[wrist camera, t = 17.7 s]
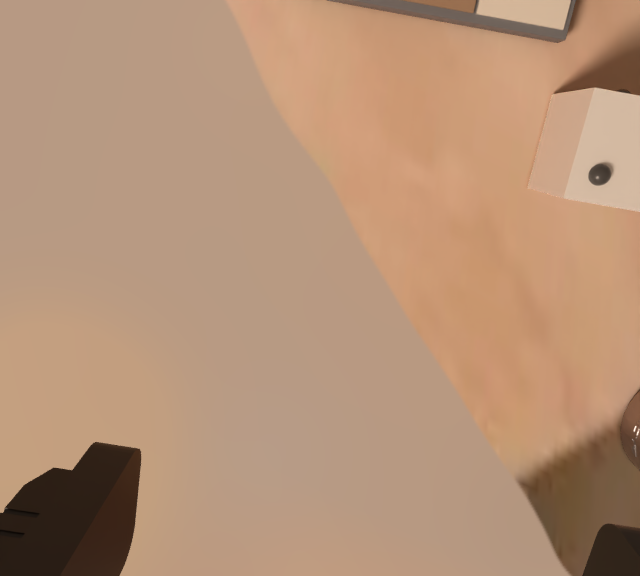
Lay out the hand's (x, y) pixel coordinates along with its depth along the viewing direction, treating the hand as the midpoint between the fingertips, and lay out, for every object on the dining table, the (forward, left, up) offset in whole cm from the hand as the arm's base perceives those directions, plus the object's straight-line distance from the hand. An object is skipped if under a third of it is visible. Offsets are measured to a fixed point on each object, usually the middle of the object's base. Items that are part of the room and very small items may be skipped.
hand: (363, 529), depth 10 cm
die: (-15, -8, -30) cm, 35 cm away
